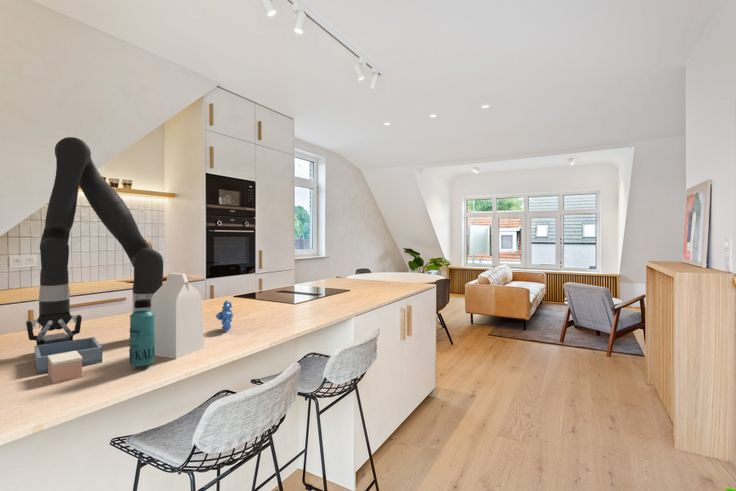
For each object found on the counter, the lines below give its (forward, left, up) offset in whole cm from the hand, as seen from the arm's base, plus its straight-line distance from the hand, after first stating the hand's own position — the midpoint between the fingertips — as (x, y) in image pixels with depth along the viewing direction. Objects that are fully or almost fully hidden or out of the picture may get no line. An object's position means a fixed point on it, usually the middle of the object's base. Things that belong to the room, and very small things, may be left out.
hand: (55, 349), depth 120 cm
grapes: (-50, -18, -1) cm, 53 cm away
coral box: (-14, +23, -1) cm, 27 cm away
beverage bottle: (-32, +21, -1) cm, 38 cm away
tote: (-9, +11, -1) cm, 14 cm away
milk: (-38, +7, -1) cm, 38 cm away
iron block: (0, 0, -1) cm, 1 cm away
